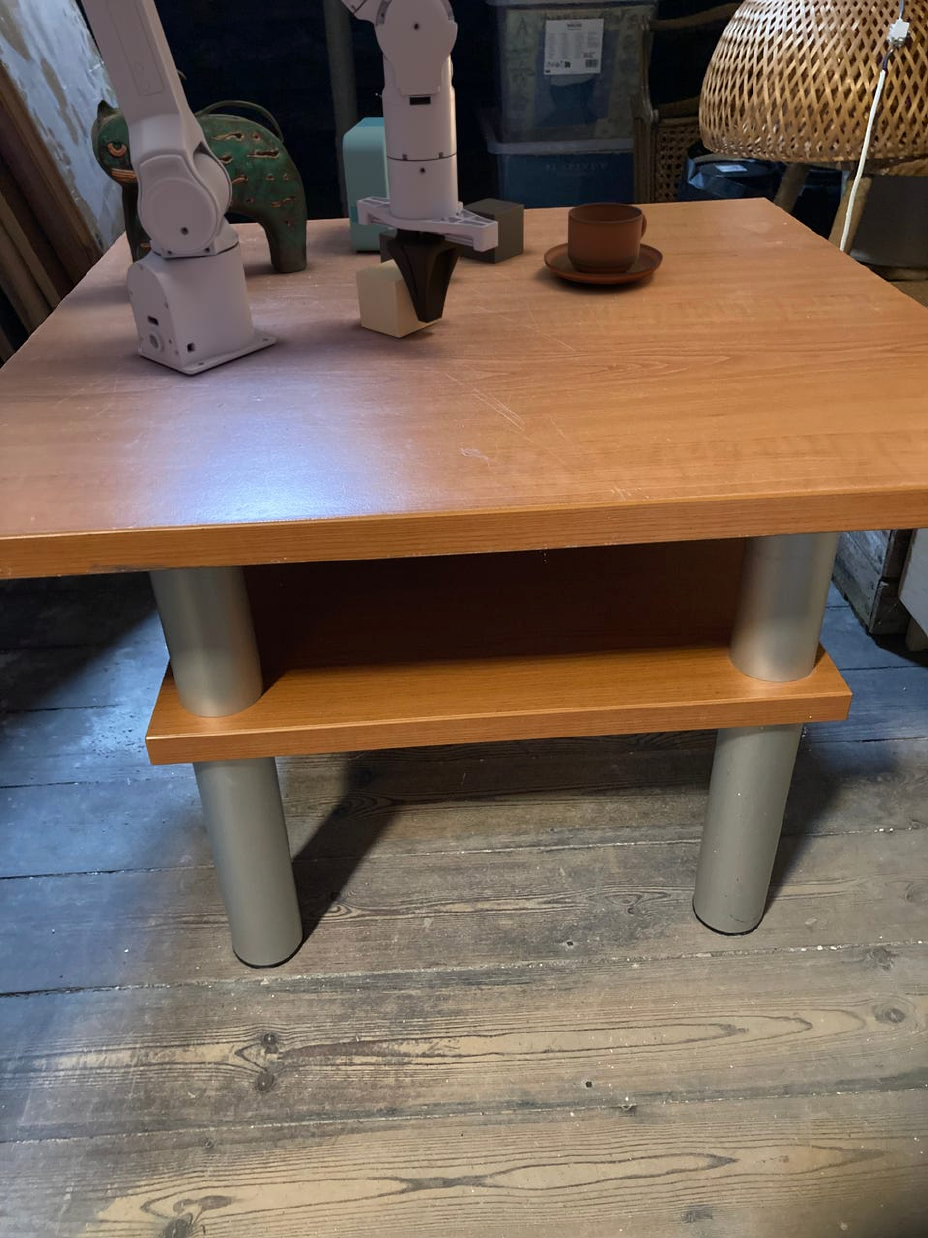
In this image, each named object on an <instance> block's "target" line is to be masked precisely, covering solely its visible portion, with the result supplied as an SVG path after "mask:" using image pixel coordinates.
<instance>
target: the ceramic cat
mask: <svg viewBox="0 0 928 1238" xmlns="http://www.w3.org/2000/svg"><path fill="white" fill-rule="evenodd" d="M176 70H177V73H178V76H179V78H180V79H181V80H183V82H184V83H185V82H186V80H187V77H186V76H185V75H184V74H183V72H182V71H180V70H179V69H177V68H176ZM225 106H235V107H240V108H241V107H242V108H249V109H253V110H256V111H258V112H260V113H261V114H262V115H263V116H265V117H266V118H267V119H268V120H269V121H270V122H271V124H272V125H273V126H274V128H275V130H276V133H277V135H278V136H276V135H275V134H274V133H273V131H272V132H271V130H269V129H267V128H266V127H265V126H263V125H261V124H260V123H258V122H255V121H252V120H249V119H247V118H245V117H243V116H242V117H241V116H238V115H237V116H236V115H230V114H220V113H218V114H217V113H215V114H214V113H213V114H212V113H211V114H210V112H211V111H213V110H215V109H217V108H220V107H225ZM193 115H194V117H195V118H196V120H197V121H198V123H199V125H200V126H201V128H202V131H203V134H204V137H205V140H206V142H207V145H208V147H209V148H210V150H211V151H212V153H213V154H214V155H215V156H216V157H217V159H218V160H219V161H220V162H221V163H222V164H223V166H224V167H225V169H226V170H227V172H228V174H229V177H230V180H231V185H232V198H231V202H230V205H229V208H228V209H227V211H226V213H232V214H233V213H234V214H239V215H242V216H245V217H248V218H249V219H251V220H253V222H256V223H258V225H259V226H260V227H261V228H262V229H263V231H264V233H265V238H266V239H267V245H268V250H269V256H270V263H271V266H272V267H273V269H276V270H277V271H278V272H279V273H294V272H299V271H302V270H305V269H306V268H307V266H308V261H307V260H308V258H307V256H308V255H307V253H308V252H307V238H308V237H307V233H308V232H307V229H308V228H307V226H308V208H307V203H306V195H305V189H304V184H303V181H302V178H301V175H300V173H299V170H298V168H297V166H296V165H295V163H294V161H293V159H292V158H291V156H290V154H289V153H288V150H287V149H286V147H285V146H284V144H283V143H284V142H285V140H284V136H283V134H282V131H281V128H280V127H279V125H278V122H277V121H276V119H275V118H274V116H273V115H272V114H271V113H270V112H269V111H268V110H267V109H265V108H264V107H263V106H261V105H259V104H256V103H252V102H249V101H243V100H222V101H218V102H216V103H213V104H210V105H208V106H207V107H205V108H204V109H202V110H199V111H197V112H195V113H193ZM90 138H91V148H92V152H93V156H94V158H95V160H96V162H97V164H98V166H99V167H100V168H101V170H102V171H103V172H104V173H105V174H106V176H108V177H109V179H111V180H112V181H114V182H115V183H116V184H118V185H119V186H120V187H121V203H122V212H123V219H124V230H125V235H126V240H127V243H128V245H129V251H130V256H131V260H132V264H133V263H134V262H136V261H139V260H141V259H143V258H144V257H146V256H147V255H148V254H149V252H150V251H151V250H152V248H151V245H150V240H152V239H151V238H150V237H149V235H148V234H147V233H146V231H145V229H144V228H143V226H142V224H141V221H140V219H139V214H138V206H137V203H138V194H139V186H138V180H137V177H136V174H135V171H134V169H133V166H132V163H131V155H130V142H129V131H128V126H127V123H126V120H125V117H124V115H123V112H122V109H121V107H120V106H117V107H113V106H112V105H111V104H110V103H109V102H107V101H106V100H105V99H103V98H102V99H101V100H100V101H99V103H98V104H97V109H96V118H95V119H94V121H93V123H92V125H91V132H90Z"/></svg>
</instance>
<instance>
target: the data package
mask: <svg viewBox="0 0 928 1238" xmlns="http://www.w3.org/2000/svg"><path fill="white" fill-rule="evenodd" d="M342 158H343V159H342V160H343V167H344V178H345V188H346V199H347V210H348V220H349V229H350V239H351V245H352V247H353V249H354V250H355V251H357V252H358V251H361V252H362V251H363V252H364V251H365V252H367V251H369V252H380V243H379V233H382V232H385V231H388V230H391V229H394V228H389V227H385V226H380V225H376V224H370V225H363V224H359V219H358V208H357V201H359V200H362V199H366V198H369V197H379V198H387V199H389V186H388V173H387V159H386V143H385V129H384V117H364V118H363V119H361V121H359V122H357V124H355V125H354V126H353V127H352V128H350V130H348V131H347V132H345V134H344V135H343V139H342Z"/></svg>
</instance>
